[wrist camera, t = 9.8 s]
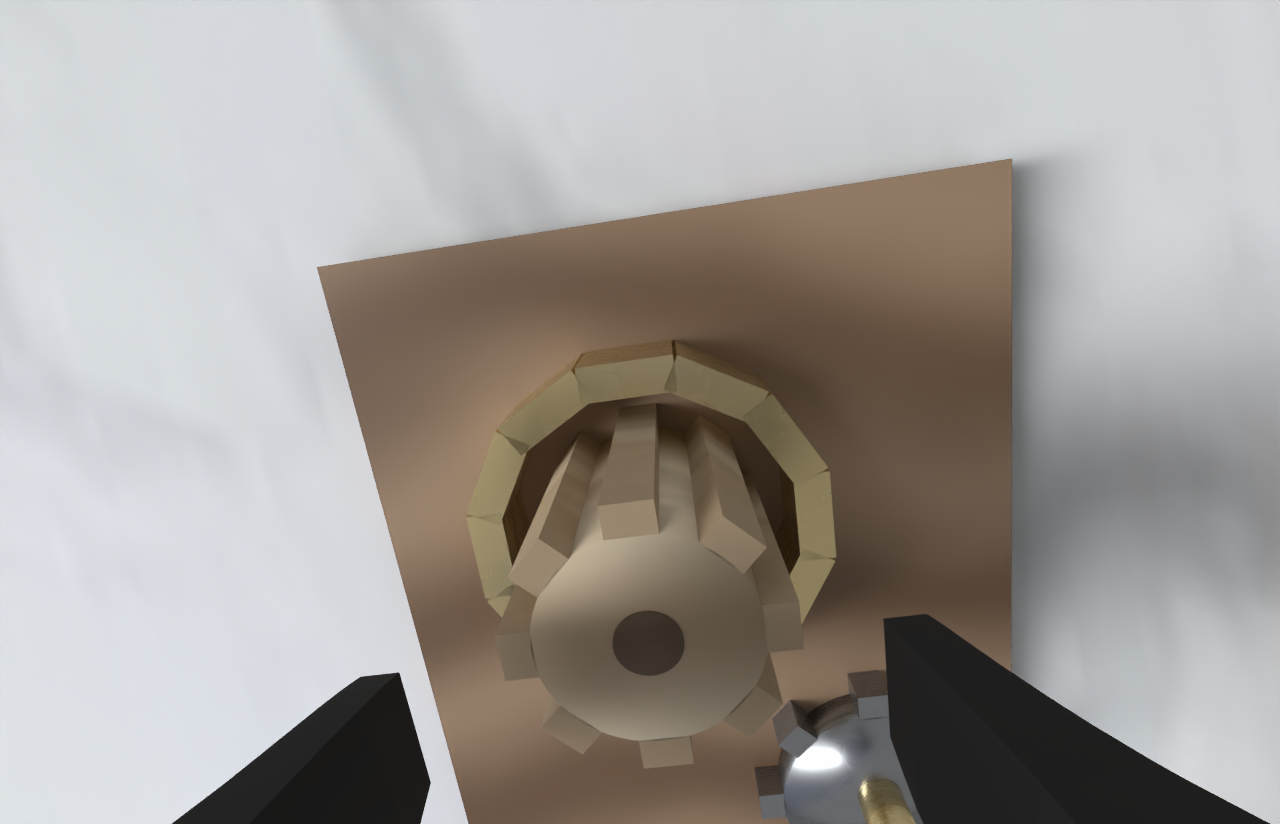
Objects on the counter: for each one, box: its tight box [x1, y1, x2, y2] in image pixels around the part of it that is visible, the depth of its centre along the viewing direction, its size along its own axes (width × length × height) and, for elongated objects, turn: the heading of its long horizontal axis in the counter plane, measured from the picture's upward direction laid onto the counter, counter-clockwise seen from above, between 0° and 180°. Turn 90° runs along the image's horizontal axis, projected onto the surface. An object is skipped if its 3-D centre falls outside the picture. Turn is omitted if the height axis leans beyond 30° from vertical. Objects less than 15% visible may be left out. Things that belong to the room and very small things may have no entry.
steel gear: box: [754, 670, 923, 824], centre depth 17 cm, size 6×6×3 cm
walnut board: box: [317, 159, 1012, 824], centre depth 18 cm, size 20×16×2 cm
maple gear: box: [495, 403, 804, 769], centre depth 14 cm, size 5×5×6 cm
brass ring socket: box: [466, 340, 836, 625], centre depth 16 cm, size 8×8×2 cm
